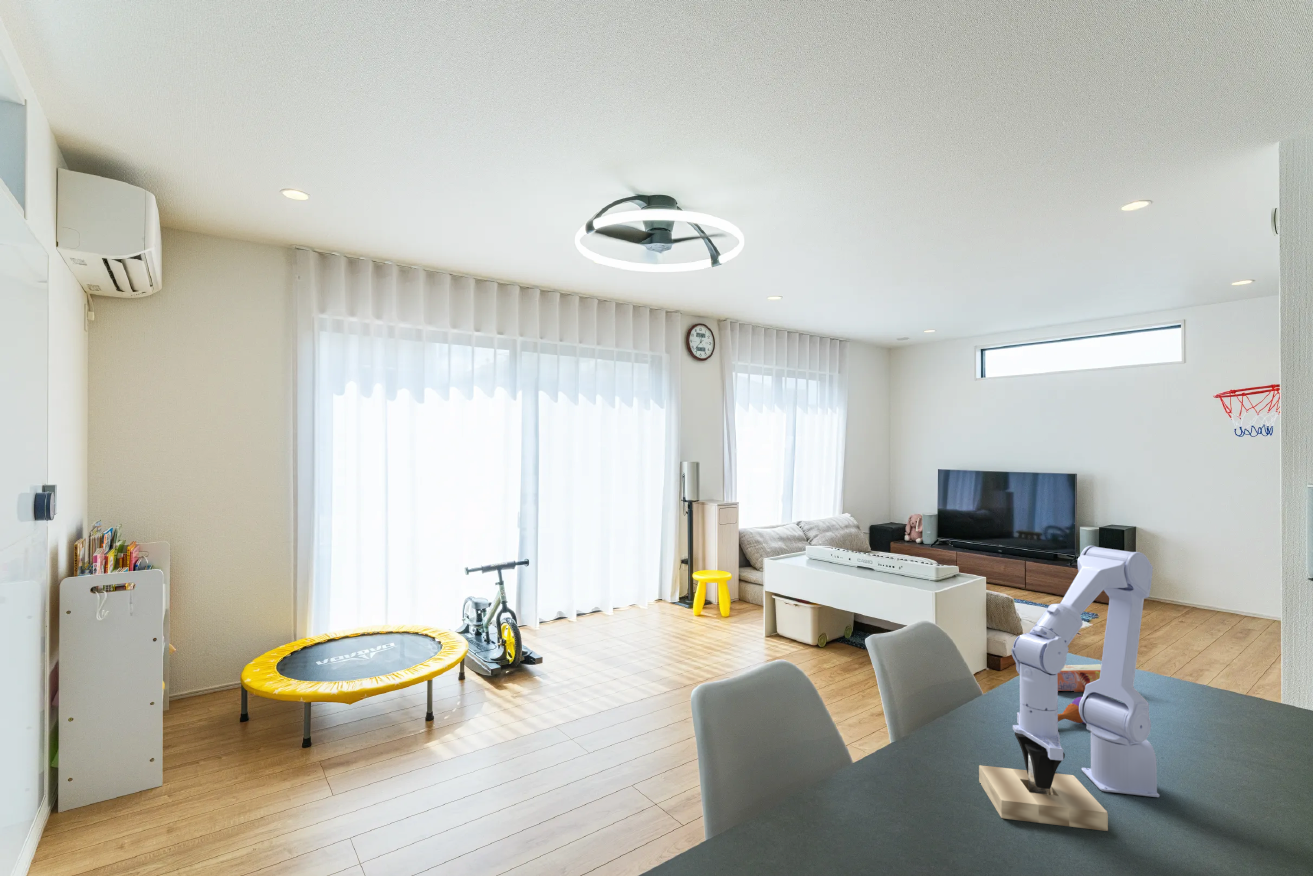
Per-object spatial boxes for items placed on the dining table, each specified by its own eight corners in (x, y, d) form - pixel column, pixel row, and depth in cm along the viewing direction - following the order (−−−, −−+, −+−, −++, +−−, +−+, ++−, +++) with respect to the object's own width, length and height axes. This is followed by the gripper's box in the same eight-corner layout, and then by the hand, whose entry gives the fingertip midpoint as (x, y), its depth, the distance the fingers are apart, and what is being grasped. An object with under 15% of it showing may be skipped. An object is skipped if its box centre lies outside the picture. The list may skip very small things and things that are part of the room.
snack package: (1051, 695, 159) (1051, 668, 159) (1035, 685, 165) (1035, 660, 165) (1132, 695, 159) (1131, 669, 159) (1112, 686, 166) (1112, 661, 166)
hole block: (1073, 791, 112) (1073, 775, 112) (1107, 831, 100) (1107, 812, 100) (979, 781, 115) (979, 765, 115) (1001, 818, 103) (1001, 800, 103)
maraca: (1014, 707, 140) (1081, 692, 146) (1020, 735, 139) (1087, 719, 145) (1036, 713, 135) (1105, 697, 140) (1042, 742, 134) (1111, 724, 139)
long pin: (1044, 789, 109) (1044, 750, 109) (1051, 798, 106) (1051, 758, 106) (1025, 787, 109) (1025, 748, 110) (1032, 796, 107) (1032, 756, 107)
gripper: (999, 687, 116) (999, 759, 116) (1030, 719, 102) (1030, 801, 101) (1040, 690, 115) (1040, 763, 114) (1077, 723, 100) (1077, 807, 100)
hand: (1038, 782), depth 108 cm, fingers closed on long pin, 3 cm apart
